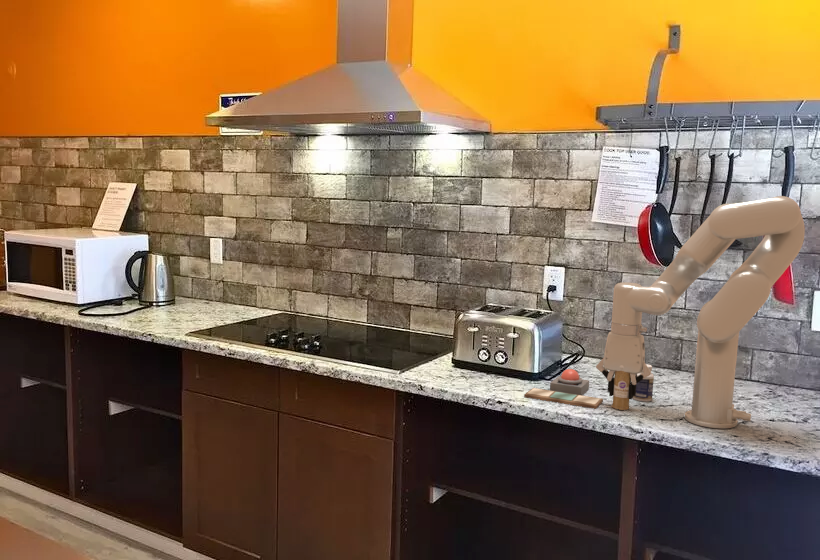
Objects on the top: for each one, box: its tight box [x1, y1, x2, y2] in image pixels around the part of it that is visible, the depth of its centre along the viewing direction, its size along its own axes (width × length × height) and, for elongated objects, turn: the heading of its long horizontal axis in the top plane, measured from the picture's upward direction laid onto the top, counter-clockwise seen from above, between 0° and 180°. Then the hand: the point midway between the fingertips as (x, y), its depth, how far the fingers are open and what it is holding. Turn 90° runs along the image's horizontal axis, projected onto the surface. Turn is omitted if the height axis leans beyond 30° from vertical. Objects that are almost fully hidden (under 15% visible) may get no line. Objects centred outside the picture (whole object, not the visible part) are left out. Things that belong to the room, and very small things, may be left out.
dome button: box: [557, 368, 583, 385], centre depth 218 cm, size 7×7×6 cm
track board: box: [523, 387, 604, 410], centre depth 209 cm, size 20×8×1 cm, turn 63°
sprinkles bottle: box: [611, 365, 631, 411], centre depth 201 cm, size 5×5×14 cm
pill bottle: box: [632, 363, 655, 403], centre depth 211 cm, size 5×5×10 cm
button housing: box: [549, 375, 590, 396], centre depth 218 cm, size 9×9×3 cm
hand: (621, 395), depth 202 cm, fingers closed on sprinkles bottle, 4 cm apart
